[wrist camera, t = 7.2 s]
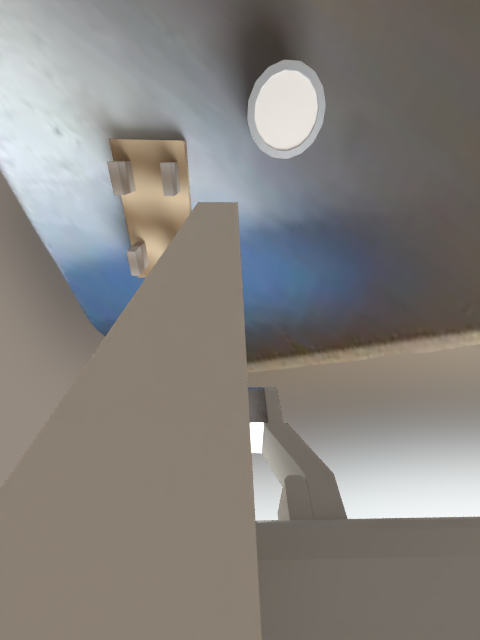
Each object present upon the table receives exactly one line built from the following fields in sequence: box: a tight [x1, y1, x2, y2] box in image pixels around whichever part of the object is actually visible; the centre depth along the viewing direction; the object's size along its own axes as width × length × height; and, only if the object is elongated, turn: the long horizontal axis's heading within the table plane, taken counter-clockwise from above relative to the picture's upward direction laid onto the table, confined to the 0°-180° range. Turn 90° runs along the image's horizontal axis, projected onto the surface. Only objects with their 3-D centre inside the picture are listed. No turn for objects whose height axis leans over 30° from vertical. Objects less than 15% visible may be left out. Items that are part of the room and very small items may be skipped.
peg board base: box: [107, 139, 191, 277], centre depth 31 cm, size 16×8×6 cm, turn 179°
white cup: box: [247, 60, 326, 159], centre depth 26 cm, size 7×7×7 cm
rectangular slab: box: [0, 202, 262, 640], centre depth 11 cm, size 12×3×16 cm, turn 0°
